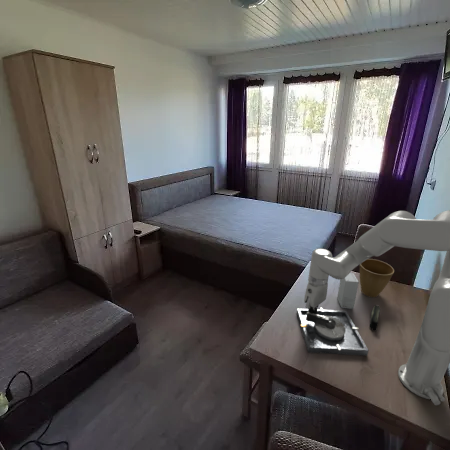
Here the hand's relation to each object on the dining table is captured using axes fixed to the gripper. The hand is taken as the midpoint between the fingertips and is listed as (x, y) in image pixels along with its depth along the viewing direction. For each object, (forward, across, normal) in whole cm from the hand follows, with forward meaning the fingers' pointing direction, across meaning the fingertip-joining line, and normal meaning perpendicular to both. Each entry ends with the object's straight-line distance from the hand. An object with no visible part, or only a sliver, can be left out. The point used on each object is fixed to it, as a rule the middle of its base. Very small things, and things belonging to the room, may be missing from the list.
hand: (311, 314), depth 114 cm
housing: (+4, +1, -8) cm, 9 cm away
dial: (+3, 0, -7) cm, 7 cm away
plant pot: (+4, +42, -7) cm, 43 cm away
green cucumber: (+5, +24, -17) cm, 29 cm away
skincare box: (+4, +25, -3) cm, 25 cm away
